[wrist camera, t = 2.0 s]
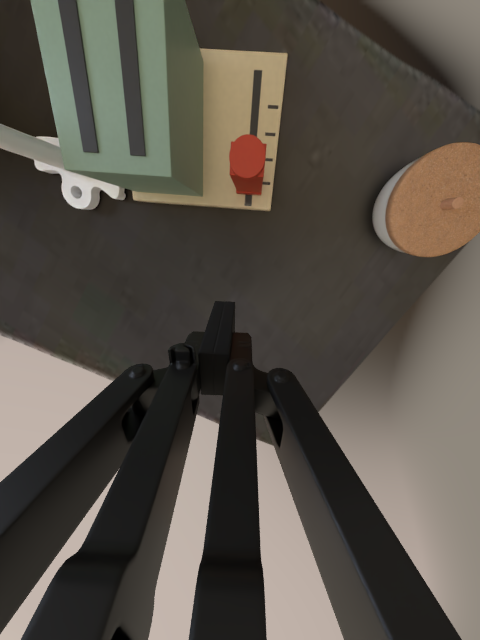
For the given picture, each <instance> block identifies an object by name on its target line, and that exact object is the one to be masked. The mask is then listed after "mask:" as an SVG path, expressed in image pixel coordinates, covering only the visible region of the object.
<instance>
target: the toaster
mask: <svg viewBox="0 0 480 640" xmlns="http://www.w3.org/2000/svg"><path fill="white" fill-rule="evenodd" d="M31 5H32V10H33V15H34V20H35V25H36V30H37V35H38V40H39V45H40V50H41V55H42V60H43V65H44V70H45V75H46V80H47V85H48V90H49V95H50V100H51V105H52V110H53V115H54V120H55V125H56V130H57V135H58V140H59V145H60V150H61V154H62V159H63V164H64V169H65V170H67V171H71V172H74V173H77V174H80V175H83V176H87V177H90V178H93V179H96V180H100V181H103V182H106V183H109V184H113V185H116V186H119V187H122V188H126V189H129V190H132V192H133V200H135V201H140V202H150V203H164V204H177V205H191V206H204V207H218V208H231V209H245V210H258V211H270V209H271V200H272V191H273V182H274V173H275V164H276V155H277V146H278V137H279V128H280V119H281V110H282V101H283V92H284V83H285V74H286V65H287V56H288V54H287V53H273V52H255V51H236V50H218V49H200V48H199V45H198V42H197V39H196V35H195V32H194V29H193V25H192V22H191V19H190V16H189V12H188V9H187V6H186V2H185V0H31ZM245 134H251V135H254V136H256V137H257V138H259V139H260V140H261V142H262V143H264V144H267V147H266V159H265V168H264V177H263V183H262V193H261V195H248V194H237V193H236V187H235V185H234V183H233V181H232V179H231V177H230V161H229V153H230V149H231V142H232V141H233V142H234V141H235V140H236V139H237V138H238V137H240V136H242V135H245Z"/></svg>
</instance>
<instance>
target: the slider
mask: <svg viewBox="0 0 480 640" xmlns="http://www.w3.org/2000/svg"><path fill="white" fill-rule="evenodd" d="M266 147H267V144H264V143H262V142H261V140H260V139H259V138H257V137H256V136H254V135H251V134H245V135H242V136H240V137H238V138H237V139H236V140H235V141H234V142H233V141H232V142H231V149H230V153H229V161H230V177H231V179H232V181H233V183H234V185H235V187H236V193H237V194H248V195H261V193H262V183H263V177H264V168H265V159H266Z"/></svg>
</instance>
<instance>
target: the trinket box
mask: <svg viewBox="0 0 480 640" xmlns="http://www.w3.org/2000/svg"><path fill="white" fill-rule="evenodd" d="M372 221H373V226H374V230H375V232H376V234H377V236H378V237H379V238H380V240H381V241H382V242H383V243H385V244H386V245H387V246H389V247H391V248H392V249H395V250H397V251H400V252H404V253H408V254H410V255H414V256H420V257H435V256H440V255H444V254H447V253H449V252H452V251H454V250H456V249H458V248H460V247H461V246H463V245H465V244H466V243H467V242H469V241H470V240H471V239H472V238H474V237H475V236H476V235H477V234H478V233H479V232H480V145H478V144H476V143H469V142H457V143H452V144H448V145H445V146H442V147H440V148H437V149H435V150H433V151H431V152H429V153H427V154H425V155H424V156H422V157H420V158H418V159H416V160H415V161H413V162H411V163H409V164H408V165H406V166H405V167H404V168H402V169H401V170H399V171H398V172H397V173H396V174H395V175H394V176H393V177H392V178H391V179H389V181H388V182H387V183H386V184H385V185H384V187H383V188H382V190H381V191H380V193H379V195H378V197H377V199H376V201H375V204H374V208H373V214H372Z"/></svg>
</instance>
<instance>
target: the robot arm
mask: <svg viewBox="0 0 480 640" xmlns="http://www.w3.org/2000/svg"><path fill="white" fill-rule="evenodd" d="M168 353H169V360H170V365H169V367H167V368H163V369H158V370H153V368H152V367H151V366H150V365H148V364H137V365H134V366H131V367H129V368H128V369H127V370H125V371H124V372H123V373H122V374H121V375H120V376H119V377H117V378H116V379H115V380H114V381H113V382H112V383H111V384H110V385H109V386H108V387H106V388H105V389H104V390H103V391H102V392H101V393H100V394H99V395H97V396H96V397H95V398H94V399H93V400H92V401H91V402H90V403H89V404H87V405H86V406H85V407H84V408H83V409H82V410H81V411H80V412H78V413H77V414H76V415H75V416H74V417H73V418H72V419H71V420H70V421H68V422H67V423H66V424H65V425H64V426H63V427H62V428H61V429H59V430H58V431H57V432H56V433H55V434H54V435H53V436H52V437H50V439H48V440H47V441H46V442H45V443H44V444H43V445H42V446H40V447H39V448H38V449H37V450H36V451H35V452H34V453H33V454H32V455H30V456H29V457H28V458H27V459H26V460H25V461H24V462H23V463H22V464H20V465H19V466H18V467H17V468H16V469H15V470H14V471H13V472H11V474H9V475H8V476H7V477H6V478H5V479H4V480H2V481H1V482H0V634H1V632H2V631H3V629H4V628H5V627H6V625H7V623H8V622H9V621H10V620H11V618H12V617H13V615H14V614H15V613H16V611H17V610H18V608H19V607H20V606H21V604H22V603H23V602H24V600H25V599H26V597H27V596H28V595H29V593H30V592H31V590H32V589H33V588H34V586H35V585H36V583H37V582H38V581H39V579H40V578H41V577H42V575H43V574H44V572H45V571H46V570H47V568H48V567H49V565H50V564H51V563H52V561H53V560H54V558H55V557H56V556H57V554H58V553H59V551H60V550H61V549H62V547H63V546H64V545H65V543H66V542H67V540H68V539H69V537H70V536H71V535H72V533H73V532H74V531H75V529H76V528H77V526H78V525H79V524H80V522H81V521H82V520H83V518H84V517H85V515H86V514H87V512H88V511H89V510H90V508H91V507H92V506H93V504H94V503H95V501H96V500H97V499H98V497H99V496H100V494H101V493H102V492H103V490H104V489H105V488H106V486H107V484H108V483H109V482H110V481H111V479H112V478H113V476H114V475H115V474H116V472H117V471H118V470H119V471H118V473H117V475H116V477H115V479H114V481H113V483H112V485H111V487H110V489H109V492H108V494H107V496H106V498H105V500H104V502H103V504H102V506H101V508H100V510H99V512H98V514H97V517H96V519H95V521H94V523H93V525H92V527H91V529H90V531H89V533H88V535H87V537H86V539H85V541H84V543H83V545H82V547H81V548H80V549H79V551H78V552H77V553H76V554H74V555H73V556H71V557H70V558H68V559H67V560H66V561H65V562H64V563H63V565H62V566H61V567H60V568H59V570H58V571H57V573H56V575H55V576H54V578H53V579H52V581H51V583H50V584H49V586H48V588H47V590H46V592H45V594H44V596H43V598H42V600H41V602H40V604H39V606H38V608H37V610H36V612H35V613H34V615H33V617H32V619H31V621H30V623H29V625H28V627H27V629H26V631H25V633H24V634H23V637H22V638H21V640H148V637H149V632H150V627H151V623H152V616H153V610H154V596H155V588H156V584H157V579H158V575H159V571H160V567H161V562H162V558H163V554H164V550H165V545H166V541H167V537H168V533H169V528H170V524H171V520H172V515H173V512H174V507H175V503H176V499H177V495H178V490H179V486H180V482H181V478H182V473H183V469H184V465H185V460H186V457H187V452H188V448H189V444H190V440H191V435H192V431H193V427H194V422H195V418H196V414H197V410H198V406H199V392H200V388H201V394H204V395H223V400H222V408H221V416H220V424H219V432H218V440H217V448H216V456H215V463H214V471H213V479H212V487H211V495H210V503H209V510H208V519H207V526H206V534H205V542H204V550H203V555H202V560H201V563H200V566H199V571H198V577H197V583H196V590H195V598H194V605H193V613H192V619H191V627H190V635H189V640H267V639H266V618H265V596H264V578H263V568H262V564H261V554H260V530H259V529H260V528H259V503H258V477H257V450H256V425H255V412H256V413H259V414H261V415H264V420H265V422H266V425H267V428H268V431H269V433H270V436H271V439H272V442H273V445H274V447H275V450H276V453H277V456H278V458H279V461H280V464H281V466H282V469H283V472H284V475H285V478H286V480H287V483H288V486H289V489H290V491H291V494H292V497H293V500H294V503H295V505H296V508H297V511H298V513H299V516H300V519H301V522H302V525H303V527H304V530H305V533H306V535H307V538H308V541H309V544H310V546H311V549H312V552H313V555H314V558H315V560H316V563H317V566H318V569H319V572H320V574H321V577H322V580H323V582H324V585H325V588H326V591H327V594H328V596H329V599H330V602H331V605H332V607H333V610H334V613H335V616H336V618H337V621H338V624H339V627H340V629H341V632H342V635H343V638H344V640H462V639H461V638H460V636H459V635H458V633H457V632H456V630H455V628H454V627H453V625H452V624H451V622H450V620H449V619H448V617H447V616H446V614H445V613H444V611H443V610H442V608H441V606H440V605H439V603H438V601H437V600H436V598H435V597H434V595H433V594H432V592H431V590H430V589H429V587H428V586H427V584H426V582H425V581H424V579H423V578H422V576H421V575H420V573H419V571H418V570H417V569H416V567H415V565H414V564H413V562H412V560H411V559H410V557H409V556H408V554H407V553H406V551H405V549H404V548H403V546H402V545H401V543H400V541H399V540H398V538H397V537H396V535H395V533H394V532H393V530H392V529H391V527H390V526H389V524H388V523H387V521H386V519H385V518H384V516H383V515H382V513H381V511H380V510H379V509H378V507H377V505H376V503H375V502H374V500H373V499H372V497H371V496H370V494H369V492H368V491H367V489H366V488H365V486H364V484H363V483H362V481H361V480H360V478H359V477H358V475H357V474H356V472H355V470H354V469H353V467H352V466H351V464H350V462H349V461H348V459H347V458H346V456H345V454H344V453H343V451H342V450H341V448H340V446H339V445H338V443H337V442H336V440H335V439H334V437H333V435H332V434H331V432H330V431H329V429H328V427H327V426H326V424H325V423H324V421H323V420H322V418H321V417H320V415H319V413H318V412H317V410H316V409H315V407H314V405H313V404H312V402H311V401H310V399H309V397H308V396H307V394H306V393H305V391H304V390H303V388H302V386H301V385H300V383H299V382H298V380H297V378H296V377H295V375H294V374H293V373H292V372H290V371H289V370H287V369H283V368H275V369H272V370H271V371H269V373H266V372H262V371H260V370H258V369H256V368H255V367H254V365H253V363H252V343H251V336H250V335H249V334H248V333H235V302H221V301H215V303H214V306H213V309H212V312H211V315H210V318H209V321H208V324H207V327H206V330H205V332H192V333H191V334H189V335H188V337H187V339H186V341H185V343H180V344H176V345H174V346H172V347H170V348H169V350H168ZM119 468H120V469H119Z"/></svg>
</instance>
